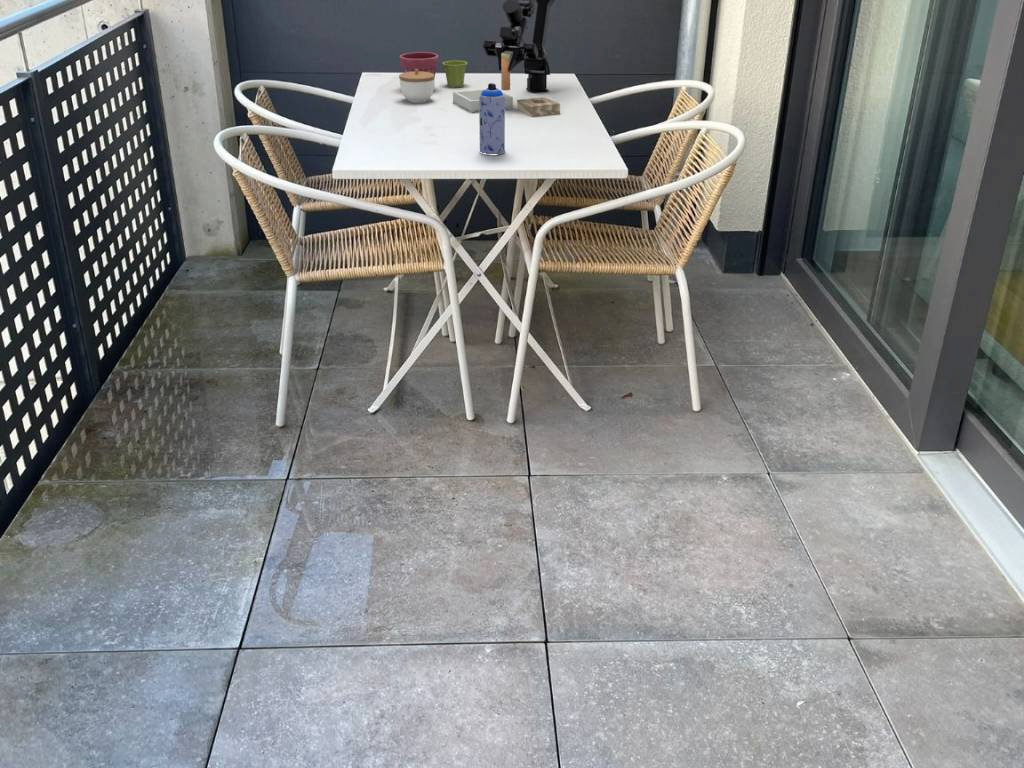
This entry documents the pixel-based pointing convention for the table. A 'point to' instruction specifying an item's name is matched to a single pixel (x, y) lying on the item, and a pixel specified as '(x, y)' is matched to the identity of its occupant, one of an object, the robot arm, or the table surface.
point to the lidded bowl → (417, 85)
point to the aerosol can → (492, 120)
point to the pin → (505, 71)
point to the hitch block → (538, 106)
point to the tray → (475, 100)
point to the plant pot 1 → (419, 62)
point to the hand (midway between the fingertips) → (504, 70)
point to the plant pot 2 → (455, 73)
